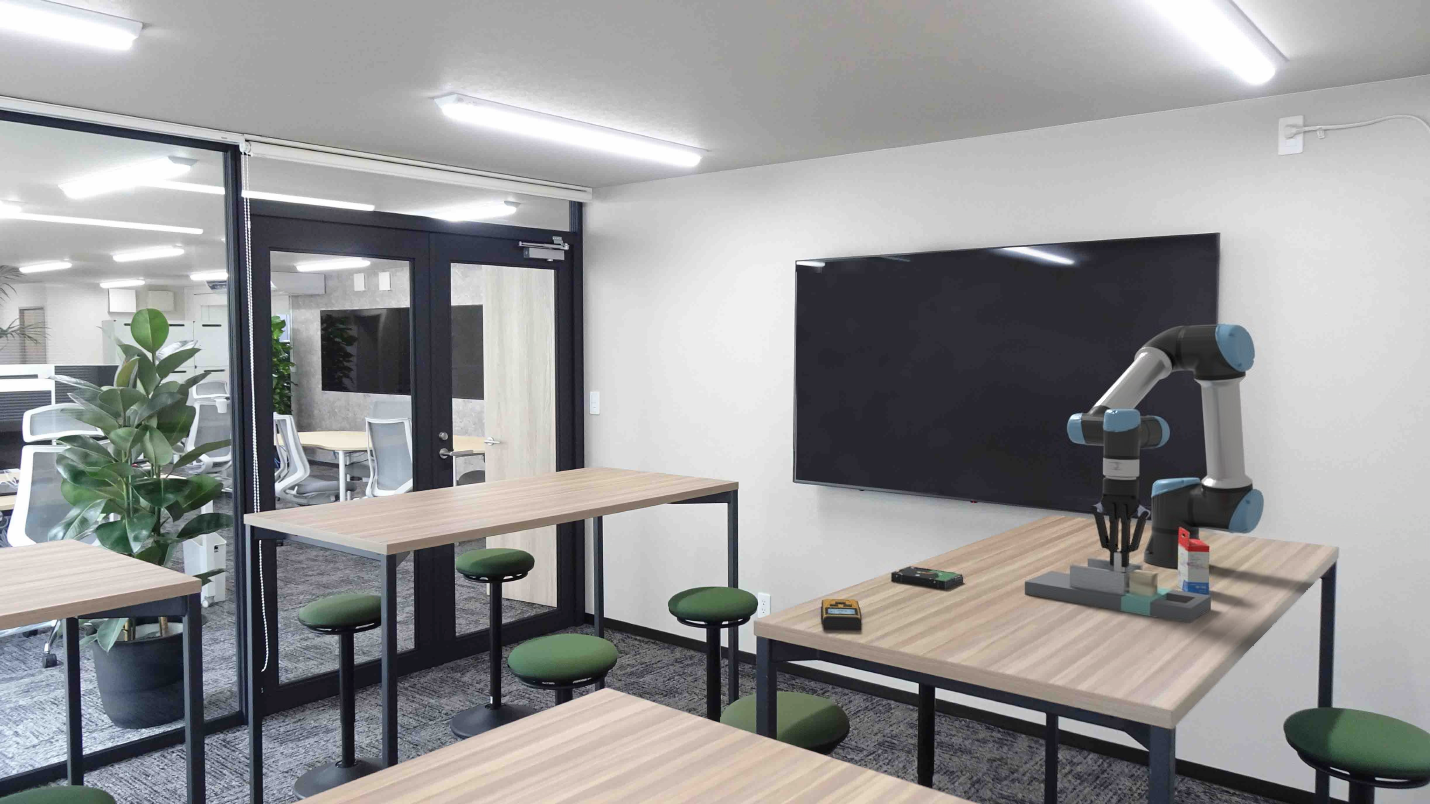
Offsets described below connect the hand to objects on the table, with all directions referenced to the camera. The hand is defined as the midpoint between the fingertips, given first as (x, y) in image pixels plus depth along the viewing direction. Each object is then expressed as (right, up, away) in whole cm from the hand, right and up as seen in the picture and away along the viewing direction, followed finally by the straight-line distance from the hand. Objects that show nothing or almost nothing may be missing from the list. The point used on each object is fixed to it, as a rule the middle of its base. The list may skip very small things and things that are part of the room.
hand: (1119, 580), depth 211 cm
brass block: (+4, -2, -4) cm, 6 cm away
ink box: (+22, -5, +11) cm, 25 cm away
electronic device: (-65, -6, -15) cm, 67 cm away
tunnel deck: (-1, -5, +1) cm, 5 cm away
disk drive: (-39, -5, +20) cm, 44 cm away
